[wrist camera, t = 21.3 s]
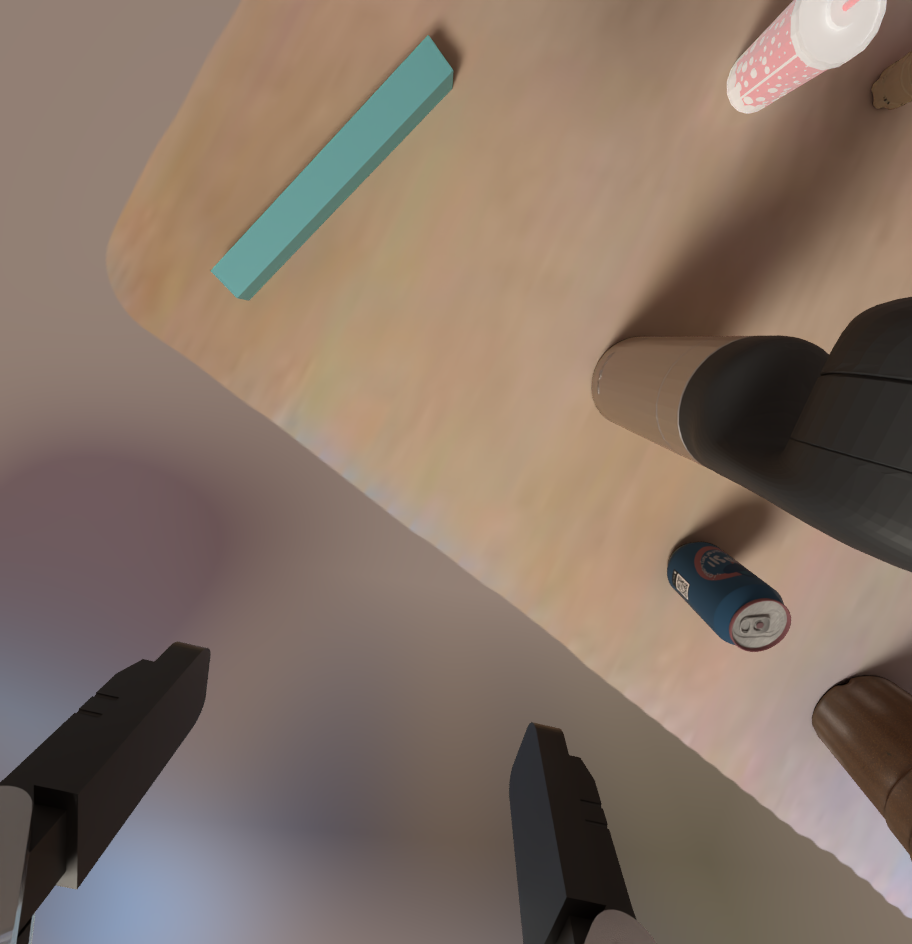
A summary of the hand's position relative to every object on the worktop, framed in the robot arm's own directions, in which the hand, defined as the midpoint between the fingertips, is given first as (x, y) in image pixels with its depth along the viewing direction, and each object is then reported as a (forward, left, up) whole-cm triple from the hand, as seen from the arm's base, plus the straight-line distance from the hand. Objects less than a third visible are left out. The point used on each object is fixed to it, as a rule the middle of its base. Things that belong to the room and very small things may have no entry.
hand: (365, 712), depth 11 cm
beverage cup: (-20, -37, -37) cm, 57 cm away
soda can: (-35, +8, -37) cm, 52 cm away
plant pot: (-67, +23, -37) cm, 80 cm away
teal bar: (+13, -19, -38) cm, 44 cm away
